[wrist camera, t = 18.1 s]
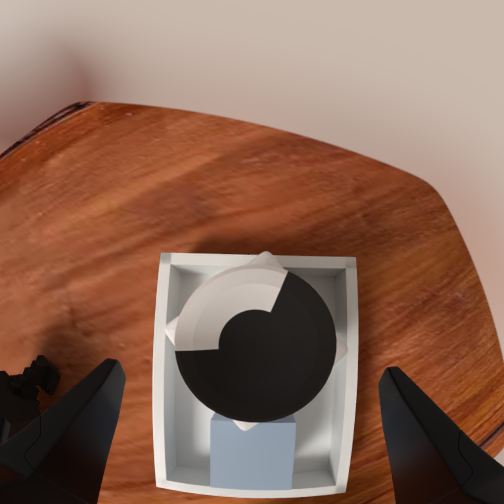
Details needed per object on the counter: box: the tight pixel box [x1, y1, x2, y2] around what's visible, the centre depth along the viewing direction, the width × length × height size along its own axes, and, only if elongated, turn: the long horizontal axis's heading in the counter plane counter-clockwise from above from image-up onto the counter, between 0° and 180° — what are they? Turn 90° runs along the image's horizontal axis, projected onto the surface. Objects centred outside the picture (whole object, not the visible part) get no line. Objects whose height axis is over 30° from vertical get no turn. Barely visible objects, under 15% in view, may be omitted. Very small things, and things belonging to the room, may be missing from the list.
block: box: [210, 412, 296, 490], centre depth 17 cm, size 5×5×5 cm
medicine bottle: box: [164, 251, 348, 431], centre depth 15 cm, size 7×7×12 cm
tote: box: [153, 253, 358, 498], centre depth 19 cm, size 18×14×4 cm
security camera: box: [0, 355, 60, 445], centre depth 14 cm, size 7×18×10 cm, turn 153°
